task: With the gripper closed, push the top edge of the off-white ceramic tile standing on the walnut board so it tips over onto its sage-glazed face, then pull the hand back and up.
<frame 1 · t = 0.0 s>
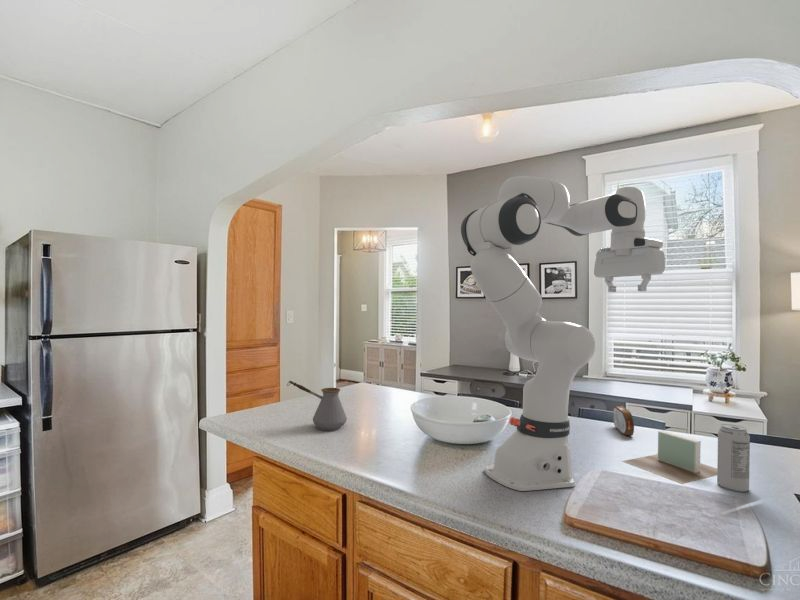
hand: (626, 291, 121), 48 cm above the countertop, tool pointing down, fingers open, 8 cm apart
board: (673, 468, 113), on the countertop
energy drink can: (732, 490, 100), on the countertop
coffee pot: (315, 426, 142), on the countertop
tile: (678, 465, 114), point 1 cm above the countertop, touching board
tin: (622, 432, 147), on the countertop
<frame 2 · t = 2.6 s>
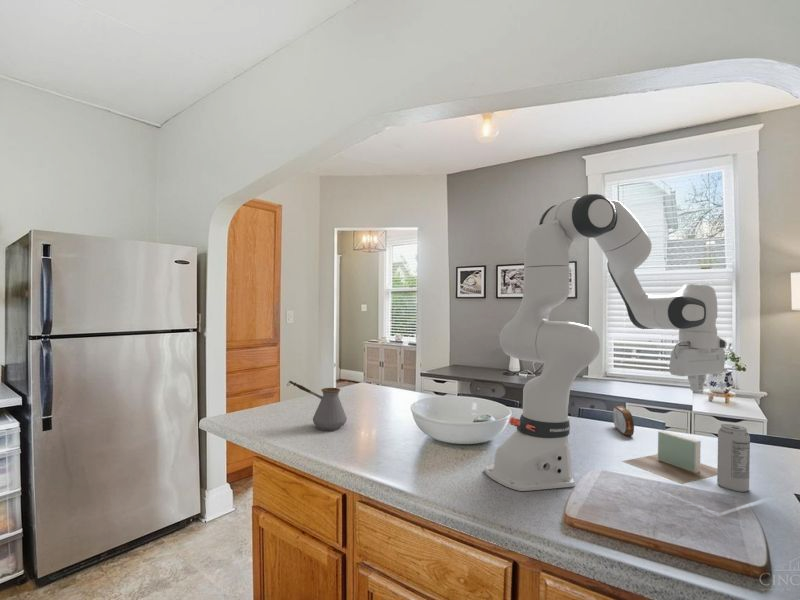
hand: (696, 390, 117), 20 cm above the countertop, tool pointing down, fingers closed
nothing on the countertop moved.
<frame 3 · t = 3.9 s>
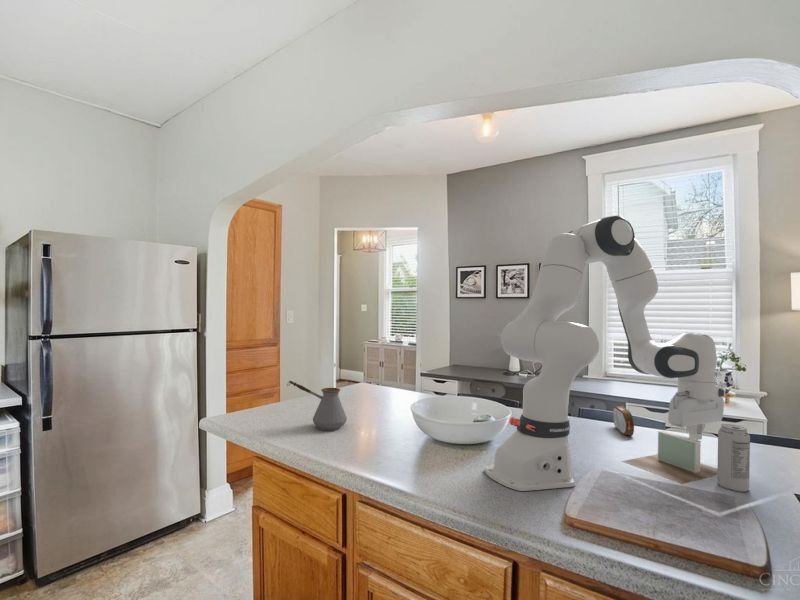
hand: (695, 439, 117), 7 cm above the countertop, tool pointing down, fingers closed
nothing on the countertop moved.
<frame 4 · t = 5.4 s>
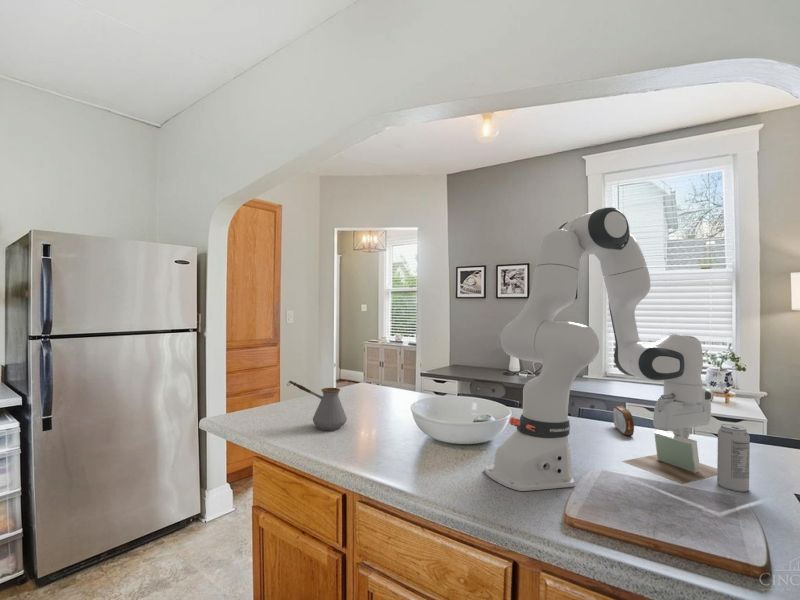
hand: (681, 443, 114), 6 cm above the countertop, tool pointing down, fingers closed
tile: (678, 464, 114), point 1 cm above the countertop, tilted 12°, touching board
everything else where it was.
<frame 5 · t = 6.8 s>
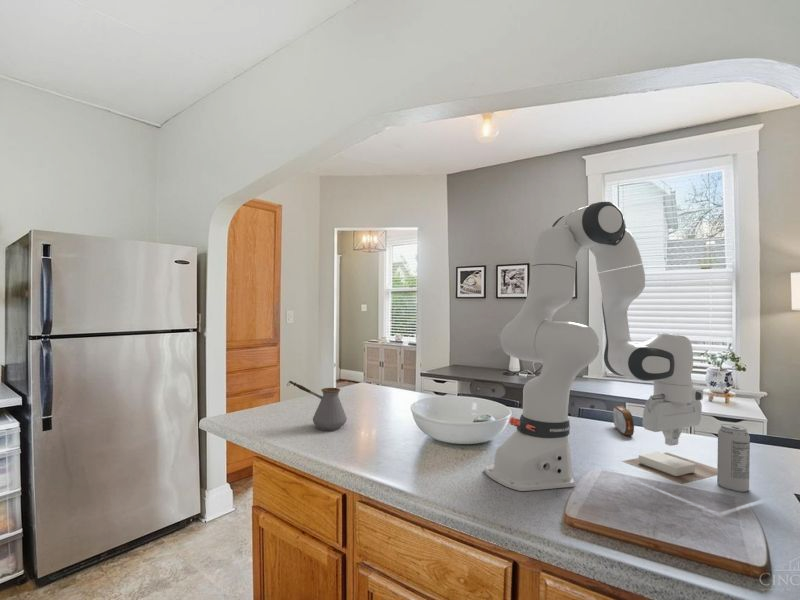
hand: (671, 444, 112), 7 cm above the countertop, tool pointing down, fingers closed
tile: (675, 461, 113), point 2 cm above the countertop, tilted 90°, touching board
everything else where it was.
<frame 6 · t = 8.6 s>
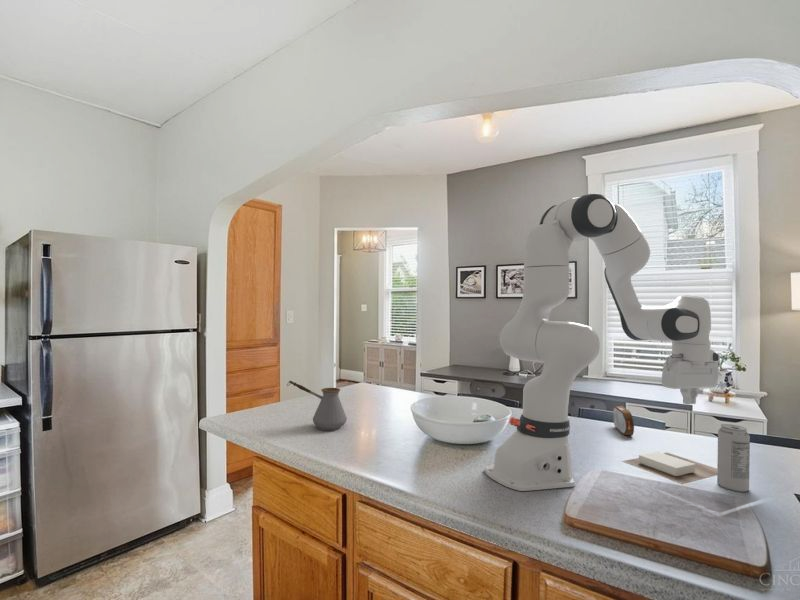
hand: (689, 404, 116), 17 cm above the countertop, tool pointing down, fingers closed
nothing on the countertop moved.
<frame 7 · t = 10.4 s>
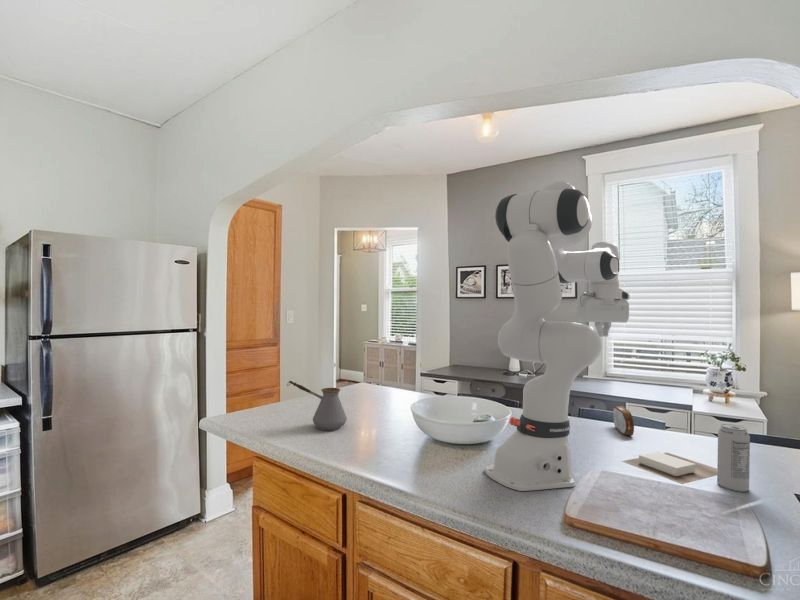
hand: (602, 336, 134), 34 cm above the countertop, tool pointing down, fingers closed
nothing on the countertop moved.
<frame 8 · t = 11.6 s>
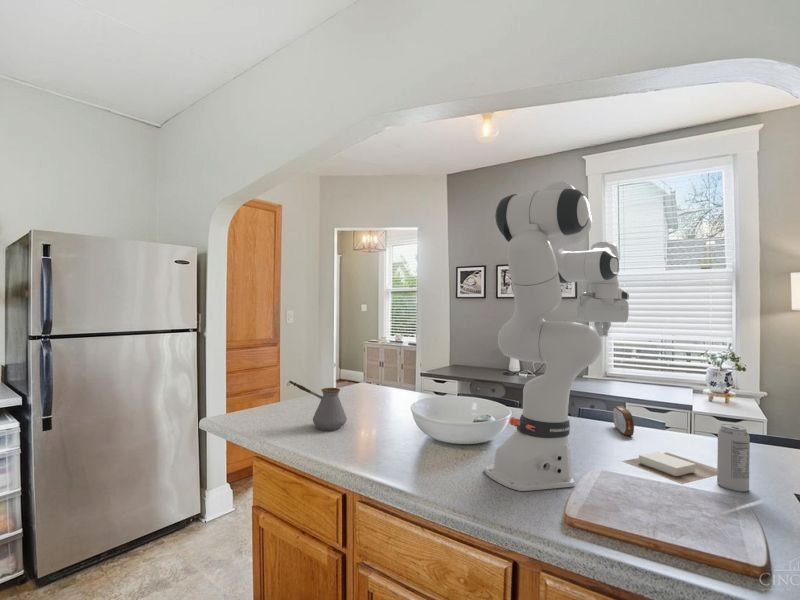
hand: (602, 336, 134), 34 cm above the countertop, tool pointing down, fingers closed
nothing on the countertop moved.
at the end: tile tilted 90°; tile inside the target area on the board (2.0 cm from its centre), point 1.9 cm above the board's base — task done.
